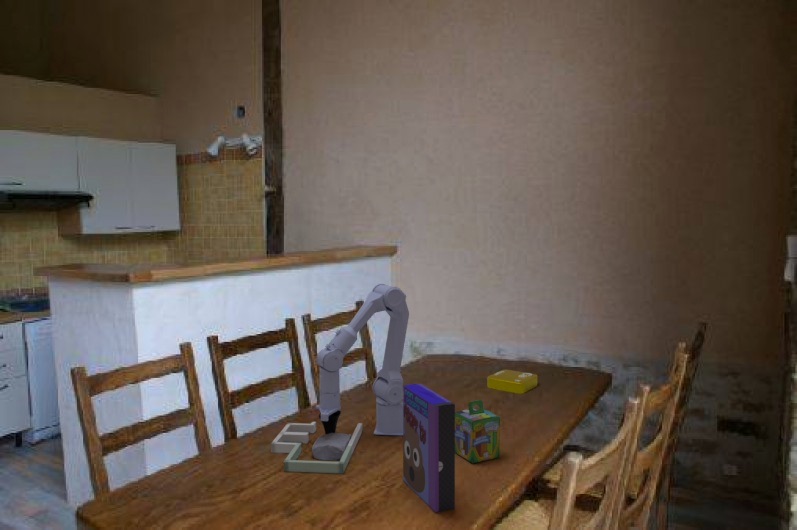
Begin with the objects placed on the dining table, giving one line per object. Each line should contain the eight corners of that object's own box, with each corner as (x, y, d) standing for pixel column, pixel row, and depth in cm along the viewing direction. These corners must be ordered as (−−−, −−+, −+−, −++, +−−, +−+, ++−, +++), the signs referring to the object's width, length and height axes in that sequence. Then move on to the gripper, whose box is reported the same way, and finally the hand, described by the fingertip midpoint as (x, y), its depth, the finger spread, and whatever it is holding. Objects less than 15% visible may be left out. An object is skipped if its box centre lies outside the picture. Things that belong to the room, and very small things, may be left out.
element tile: (503, 379, 238) (503, 367, 238) (539, 385, 229) (539, 373, 229) (485, 388, 227) (485, 375, 226) (521, 395, 218) (522, 382, 217)
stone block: (311, 466, 161) (347, 459, 160) (307, 449, 161) (344, 442, 160) (320, 450, 173) (354, 444, 172) (316, 434, 172) (350, 428, 172)
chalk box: (472, 464, 157) (472, 409, 156) (453, 452, 165) (453, 399, 164) (501, 458, 161) (501, 403, 160) (481, 446, 169) (481, 394, 168)
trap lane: (362, 431, 181) (362, 423, 181) (343, 473, 152) (343, 463, 152) (289, 429, 184) (289, 421, 184) (257, 470, 154) (256, 460, 154)
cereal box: (403, 481, 148) (402, 385, 146) (420, 477, 149) (420, 382, 147) (435, 513, 132) (435, 405, 130) (454, 508, 134) (454, 403, 131)
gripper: (321, 383, 179) (322, 427, 180) (309, 398, 165) (310, 446, 166) (345, 383, 179) (345, 428, 180) (334, 398, 164) (335, 447, 165)
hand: (330, 437), depth 173 cm, fingers closed
